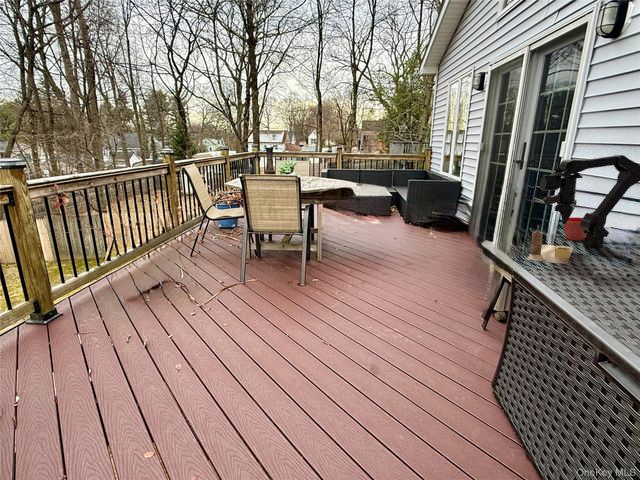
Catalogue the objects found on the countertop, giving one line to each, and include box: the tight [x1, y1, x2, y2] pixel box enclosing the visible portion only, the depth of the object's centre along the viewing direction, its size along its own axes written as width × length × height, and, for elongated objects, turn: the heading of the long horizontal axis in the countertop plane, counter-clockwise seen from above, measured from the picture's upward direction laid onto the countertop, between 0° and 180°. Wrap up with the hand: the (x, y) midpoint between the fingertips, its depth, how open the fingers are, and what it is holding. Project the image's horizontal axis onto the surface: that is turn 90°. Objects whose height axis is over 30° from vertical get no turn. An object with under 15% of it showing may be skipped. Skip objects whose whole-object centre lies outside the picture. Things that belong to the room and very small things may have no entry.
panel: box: [526, 244, 574, 265], centre depth 149 cm, size 22×26×1 cm
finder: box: [554, 246, 571, 259], centre depth 143 cm, size 5×4×4 cm
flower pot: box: [563, 216, 586, 241], centre depth 168 cm, size 11×11×10 cm
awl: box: [530, 224, 544, 255], centre depth 148 cm, size 4×4×13 cm
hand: (564, 223), depth 152 cm, fingers closed
